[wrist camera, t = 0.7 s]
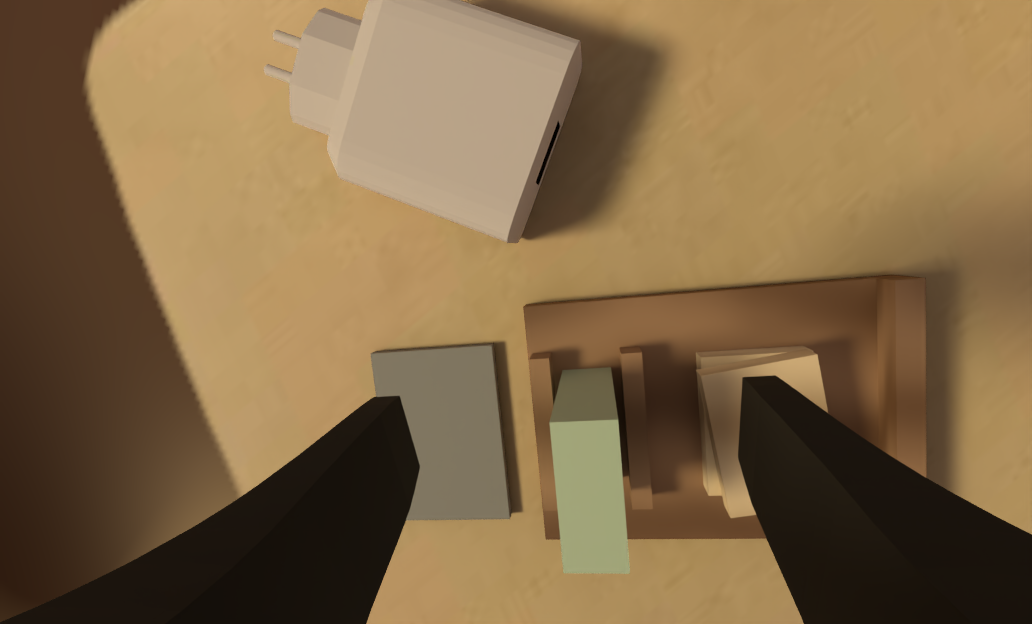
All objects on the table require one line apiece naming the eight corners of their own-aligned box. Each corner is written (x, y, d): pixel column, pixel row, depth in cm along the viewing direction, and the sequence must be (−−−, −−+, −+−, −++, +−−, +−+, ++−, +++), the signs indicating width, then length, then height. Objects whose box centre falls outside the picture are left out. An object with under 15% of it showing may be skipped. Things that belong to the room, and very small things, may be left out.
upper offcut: (832, 489, 24) (844, 502, 23) (724, 505, 25) (730, 518, 24) (806, 348, 23) (817, 354, 22) (695, 369, 24) (700, 375, 23)
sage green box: (619, 477, 27) (630, 573, 19) (572, 478, 27) (563, 573, 19) (610, 367, 26) (618, 419, 18) (562, 370, 26) (549, 422, 19)
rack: (895, 526, 26) (926, 556, 23) (547, 529, 29) (543, 555, 26) (892, 274, 24) (925, 278, 22) (525, 304, 27) (519, 310, 25)
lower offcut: (807, 482, 25) (817, 493, 24) (703, 484, 26) (708, 495, 25) (802, 345, 24) (813, 350, 23) (695, 352, 25) (700, 357, 24)
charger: (321, -18, 27) (583, 71, 26) (276, 150, 29) (520, 243, 27) (264, -73, 22) (581, 32, 21) (214, 131, 24) (505, 243, 23)
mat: (511, 513, 29) (509, 519, 28) (396, 514, 30) (392, 520, 30) (493, 343, 28) (491, 345, 27) (375, 351, 29) (370, 353, 28)
